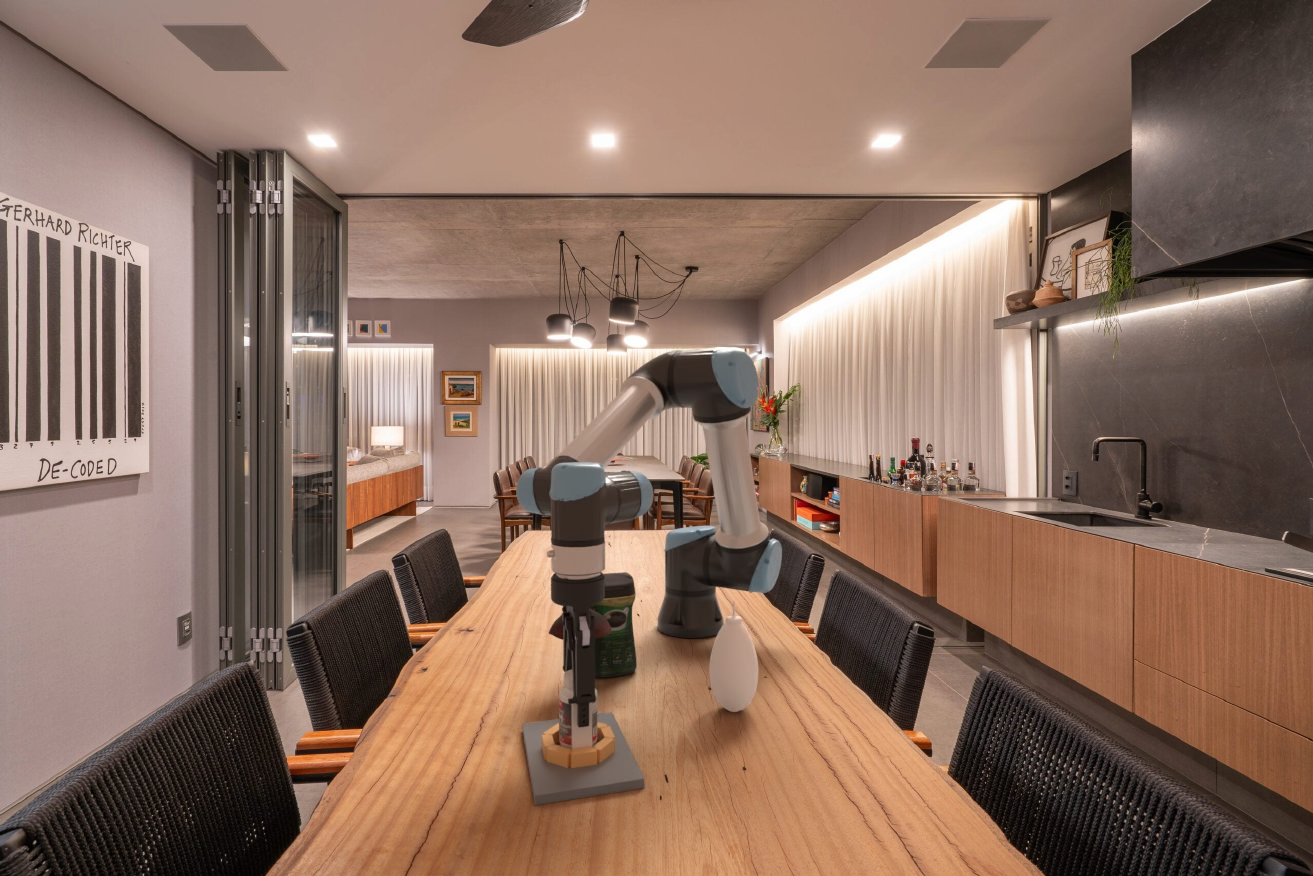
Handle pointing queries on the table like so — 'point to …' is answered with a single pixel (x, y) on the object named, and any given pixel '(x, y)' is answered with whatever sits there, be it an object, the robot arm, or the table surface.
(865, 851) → the table surface
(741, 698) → the sauce bottle
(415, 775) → the table surface
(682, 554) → the robot arm
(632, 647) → the coffee jar
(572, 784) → the socket board
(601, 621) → the decorative mushroom
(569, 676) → the pill bottle
